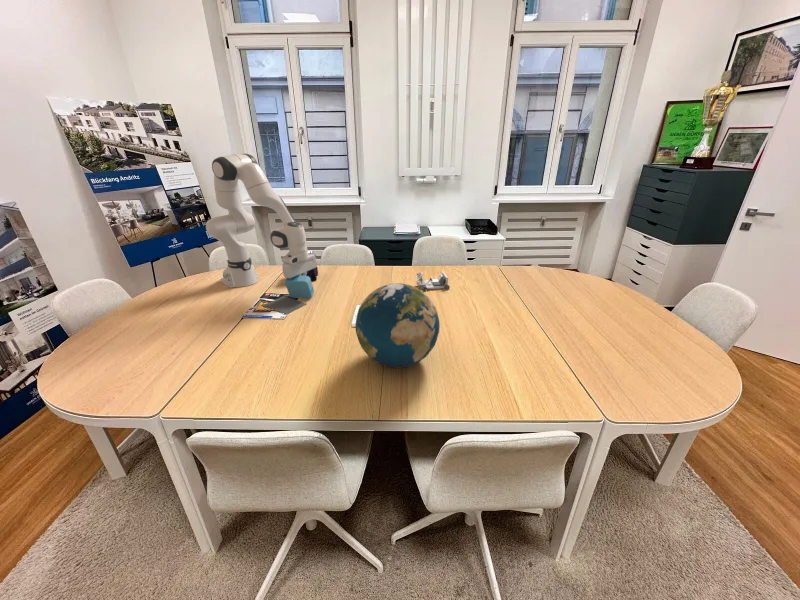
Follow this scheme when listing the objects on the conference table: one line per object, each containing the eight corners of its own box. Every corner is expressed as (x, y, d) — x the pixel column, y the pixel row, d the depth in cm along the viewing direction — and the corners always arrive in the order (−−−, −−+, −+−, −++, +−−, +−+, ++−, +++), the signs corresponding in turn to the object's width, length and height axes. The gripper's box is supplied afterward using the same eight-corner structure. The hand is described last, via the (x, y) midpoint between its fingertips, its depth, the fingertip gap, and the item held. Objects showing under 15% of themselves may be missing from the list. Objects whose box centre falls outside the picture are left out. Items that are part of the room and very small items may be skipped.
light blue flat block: (314, 292, 183) (309, 275, 175) (312, 298, 180) (307, 281, 172) (293, 292, 185) (286, 274, 176) (290, 297, 181) (283, 280, 173)
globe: (363, 338, 145) (359, 271, 132) (435, 338, 144) (438, 271, 131) (352, 385, 118) (345, 306, 105) (440, 386, 117) (444, 306, 104)
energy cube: (298, 274, 212) (295, 255, 206) (318, 273, 213) (315, 254, 208) (295, 282, 201) (292, 262, 196) (316, 281, 202) (313, 261, 197)
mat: (263, 306, 173) (262, 305, 173) (283, 296, 183) (283, 296, 183) (286, 314, 165) (286, 313, 165) (306, 304, 174) (306, 303, 174)
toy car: (417, 275, 183) (413, 267, 193) (417, 292, 187) (413, 284, 197) (450, 273, 185) (444, 265, 195) (449, 290, 189) (444, 281, 199)
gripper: (309, 248, 184) (312, 273, 190) (278, 259, 168) (283, 285, 174) (318, 250, 181) (321, 275, 187) (287, 262, 165) (292, 288, 171)
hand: (302, 280), depth 180 cm, fingers closed
